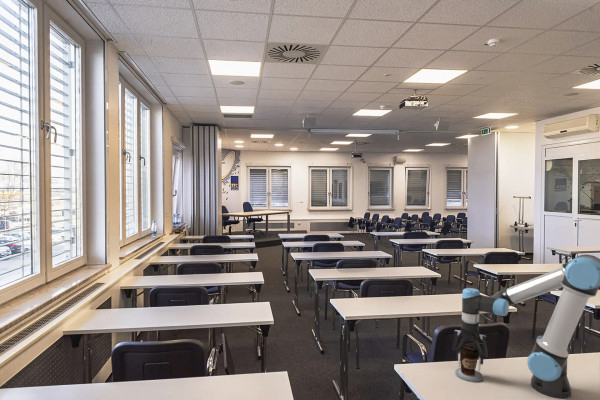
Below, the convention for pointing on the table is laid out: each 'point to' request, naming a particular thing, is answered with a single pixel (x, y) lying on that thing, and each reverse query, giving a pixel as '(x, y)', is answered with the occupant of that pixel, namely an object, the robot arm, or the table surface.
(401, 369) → the table surface
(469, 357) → the coffee cup
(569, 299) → the robot arm
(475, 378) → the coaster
